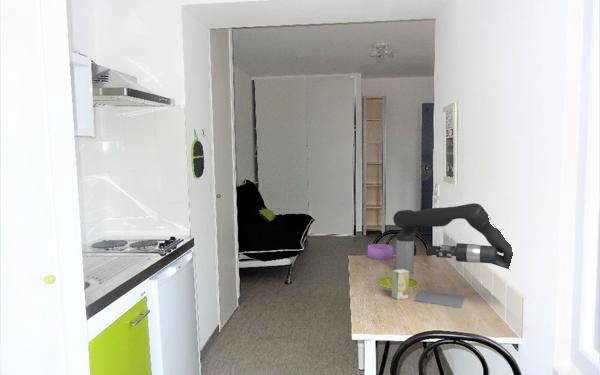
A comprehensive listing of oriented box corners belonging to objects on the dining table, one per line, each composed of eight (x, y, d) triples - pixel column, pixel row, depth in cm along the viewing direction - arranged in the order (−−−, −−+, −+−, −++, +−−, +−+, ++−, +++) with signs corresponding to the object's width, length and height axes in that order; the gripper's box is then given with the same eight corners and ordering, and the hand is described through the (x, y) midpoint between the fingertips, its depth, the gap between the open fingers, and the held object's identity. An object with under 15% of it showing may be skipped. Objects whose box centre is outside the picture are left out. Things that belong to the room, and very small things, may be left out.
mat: (421, 290, 208) (421, 289, 208) (464, 296, 200) (464, 295, 200) (414, 301, 194) (414, 300, 194) (460, 308, 186) (460, 307, 186)
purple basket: (366, 259, 270) (367, 237, 269) (368, 253, 284) (368, 232, 283) (409, 261, 264) (410, 239, 263) (409, 255, 279) (409, 234, 278)
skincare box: (397, 300, 195) (398, 272, 194) (391, 297, 199) (391, 270, 198) (409, 298, 198) (409, 270, 197) (402, 295, 202) (403, 268, 201)
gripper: (470, 241, 190) (431, 238, 197) (466, 247, 177) (424, 244, 185) (470, 258, 191) (431, 255, 198) (466, 265, 178) (424, 262, 185)
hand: (428, 250), depth 191 cm, fingers open, 8 cm apart
